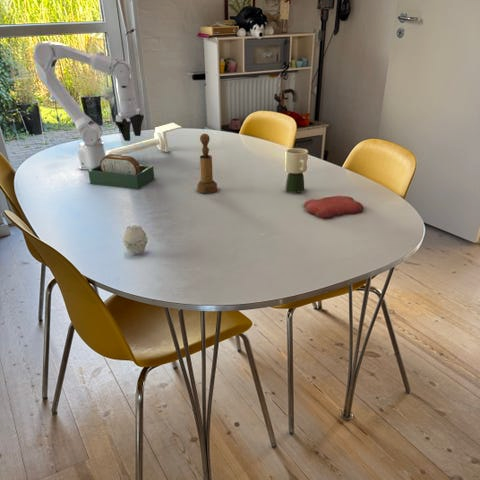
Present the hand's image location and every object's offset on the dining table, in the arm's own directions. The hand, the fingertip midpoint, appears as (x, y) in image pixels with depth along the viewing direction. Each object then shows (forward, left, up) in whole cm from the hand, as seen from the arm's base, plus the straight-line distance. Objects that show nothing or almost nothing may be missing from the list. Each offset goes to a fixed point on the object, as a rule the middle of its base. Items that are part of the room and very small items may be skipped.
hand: (132, 138), depth 180 cm
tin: (+5, -18, -10) cm, 22 cm away
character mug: (+66, -10, -11) cm, 67 cm away
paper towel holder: (-6, +18, -11) cm, 22 cm away
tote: (+5, -18, -10) cm, 22 cm away
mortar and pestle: (+38, -18, -11) cm, 43 cm away
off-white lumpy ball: (+40, -68, -11) cm, 80 cm away
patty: (+81, -22, -11) cm, 84 cm away
